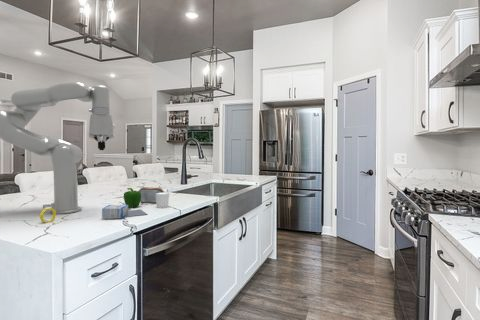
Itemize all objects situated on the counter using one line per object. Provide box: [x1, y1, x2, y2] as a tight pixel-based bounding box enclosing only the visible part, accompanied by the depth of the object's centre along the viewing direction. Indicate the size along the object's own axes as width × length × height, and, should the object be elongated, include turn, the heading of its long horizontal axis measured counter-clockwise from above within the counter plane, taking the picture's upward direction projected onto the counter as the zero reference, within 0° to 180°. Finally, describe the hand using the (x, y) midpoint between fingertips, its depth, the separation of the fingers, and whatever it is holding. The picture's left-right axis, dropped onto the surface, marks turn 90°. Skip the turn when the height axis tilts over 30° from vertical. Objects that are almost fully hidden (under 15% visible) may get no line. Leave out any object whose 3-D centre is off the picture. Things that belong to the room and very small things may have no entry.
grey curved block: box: [138, 186, 164, 204], centre depth 160 cm, size 15×3×8 cm, turn 84°
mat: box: [109, 209, 148, 220], centre depth 132 cm, size 16×12×1 cm
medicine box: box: [101, 204, 129, 220], centre depth 127 cm, size 8×4×9 cm
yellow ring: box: [39, 207, 57, 224], centre depth 118 cm, size 6×3×6 cm, turn 161°
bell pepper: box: [123, 187, 141, 209], centre depth 149 cm, size 8×8×10 cm
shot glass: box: [155, 192, 170, 209], centre depth 149 cm, size 7×7×7 cm
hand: (101, 150), depth 140 cm, fingers closed
